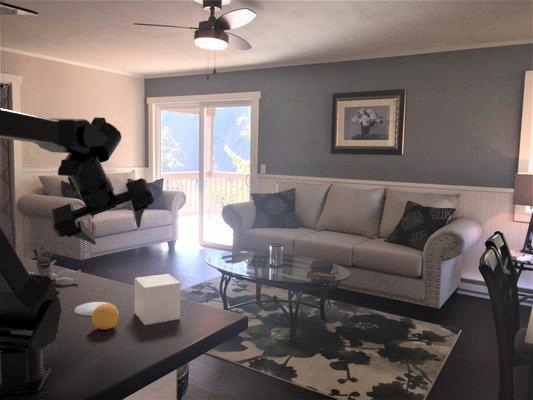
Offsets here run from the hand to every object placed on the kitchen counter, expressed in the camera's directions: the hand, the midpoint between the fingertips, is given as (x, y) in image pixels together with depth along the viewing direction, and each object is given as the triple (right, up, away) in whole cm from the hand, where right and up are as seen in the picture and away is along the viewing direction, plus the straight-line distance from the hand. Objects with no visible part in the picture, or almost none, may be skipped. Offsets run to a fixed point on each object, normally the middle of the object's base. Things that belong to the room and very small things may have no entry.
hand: (117, 234), depth 91 cm
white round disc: (-7, -17, +5) cm, 19 cm away
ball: (0, -16, -5) cm, 17 cm away
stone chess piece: (-23, -15, +15) cm, 31 cm away
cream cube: (+8, -18, +2) cm, 19 cm away
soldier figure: (-23, -15, +21) cm, 34 cm away
